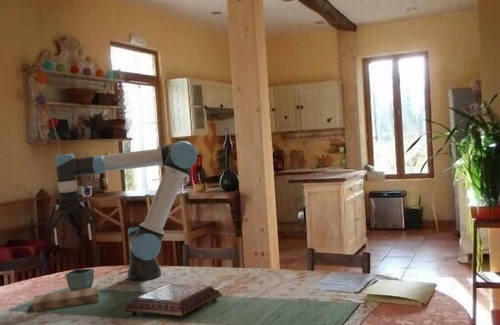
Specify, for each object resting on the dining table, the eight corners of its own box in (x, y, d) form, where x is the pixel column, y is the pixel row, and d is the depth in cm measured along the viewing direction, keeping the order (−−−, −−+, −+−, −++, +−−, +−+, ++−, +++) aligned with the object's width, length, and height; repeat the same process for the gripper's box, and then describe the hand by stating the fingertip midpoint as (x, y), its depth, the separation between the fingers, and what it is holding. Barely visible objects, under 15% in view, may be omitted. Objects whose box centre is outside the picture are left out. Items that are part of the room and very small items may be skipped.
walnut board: (97, 294, 231) (96, 287, 231) (99, 301, 219) (98, 293, 219) (34, 303, 223) (34, 296, 223) (33, 311, 212) (32, 303, 212)
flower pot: (86, 295, 231) (84, 273, 231) (66, 295, 233) (64, 274, 233) (96, 289, 240) (94, 268, 239) (77, 289, 242) (75, 269, 241)
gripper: (98, 187, 242) (103, 236, 243) (36, 194, 233) (41, 245, 234) (99, 188, 235) (105, 238, 236) (36, 195, 226) (42, 247, 227)
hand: (73, 241), depth 235 cm, fingers open, 13 cm apart
